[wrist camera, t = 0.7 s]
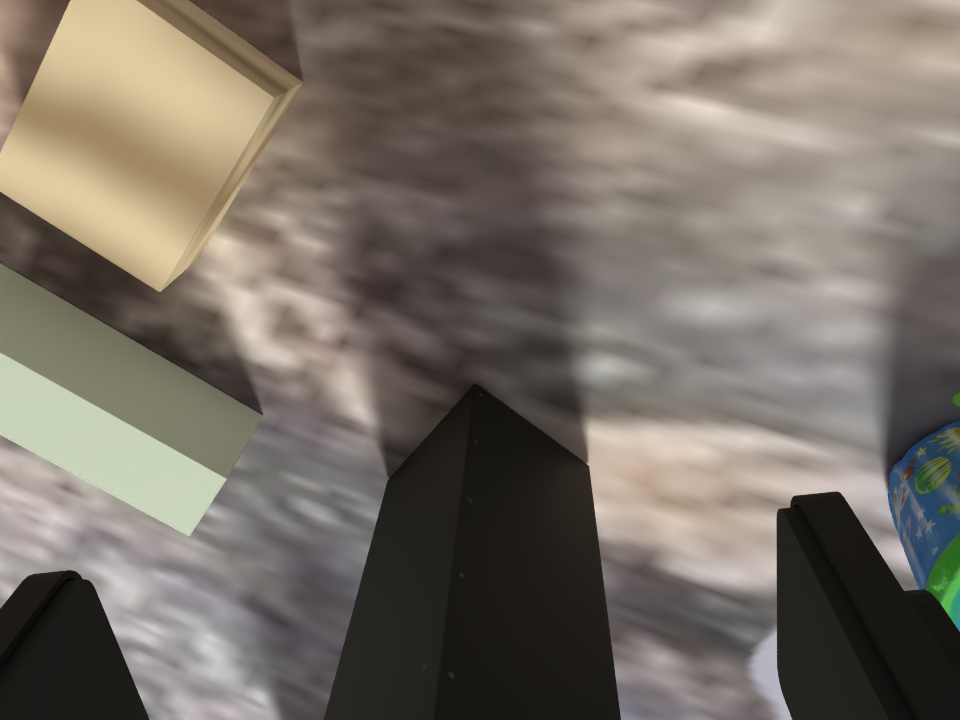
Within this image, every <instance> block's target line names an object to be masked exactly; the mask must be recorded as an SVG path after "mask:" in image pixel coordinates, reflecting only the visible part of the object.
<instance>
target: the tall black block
mask: <svg viewBox="0 0 960 720" xmlns="http://www.w3.org/2000/svg"><path fill="white" fill-rule="evenodd" d="M324 720H621V717H620V709H619V701H618V693H617V685H616V677H615V669H614V661H613V653H612V645H611V637H610V629H609V621H608V614H607V606H606V598H605V590H604V582H603V574H602V566H601V558H600V550H599V542H598V534H597V526H596V518H595V510H594V502H593V494H592V486H591V478H590V470H589V466H588V465H587V464H586V463H584V462H583V461H581V460H580V459H579V458H578V457H576V456H575V455H573V454H572V453H571V452H569V451H568V450H567V449H565V448H564V447H562V446H561V445H560V444H558V443H557V442H556V441H554V440H553V439H551V438H550V437H549V436H547V435H546V434H545V433H543V432H542V431H541V430H539V429H538V428H536V427H535V426H534V425H532V424H531V423H530V422H528V421H527V420H525V419H524V418H523V417H521V416H520V415H519V414H517V413H516V412H514V411H513V410H512V409H510V408H509V407H508V406H506V405H505V404H503V403H502V402H501V401H499V400H498V399H497V398H495V397H494V396H493V395H491V394H490V393H488V392H487V391H485V390H484V389H483V388H481V387H480V386H479V385H477V384H476V385H473V386H472V388H471V389H470V390H469V391H468V392H467V393H466V394H465V395H464V396H463V398H462V399H461V400H460V401H459V402H458V403H457V404H456V405H455V406H454V408H453V409H452V410H451V411H450V412H449V413H448V414H447V415H446V417H445V418H444V419H443V420H442V421H441V422H440V423H439V424H438V425H437V427H436V428H435V429H434V430H433V431H432V432H431V433H430V434H429V435H428V437H427V438H426V439H425V440H424V441H423V442H422V443H421V444H420V445H419V447H418V448H417V449H416V450H415V451H414V452H413V453H412V454H411V455H410V457H409V458H408V459H407V460H406V461H405V462H404V463H403V464H402V465H401V467H400V468H399V469H398V470H397V471H396V472H395V473H394V474H393V475H392V477H391V478H390V479H389V480H388V482H387V485H386V489H385V493H384V497H383V500H382V504H381V508H380V512H379V515H378V519H377V523H376V527H375V530H374V534H373V538H372V542H371V545H370V549H369V553H368V556H367V560H366V564H365V568H364V571H363V575H362V579H361V583H360V586H359V590H358V594H357V598H356V601H355V605H354V609H353V613H352V616H351V620H350V624H349V628H348V631H347V635H346V639H345V643H344V646H343V650H342V654H341V658H340V661H339V665H338V669H337V673H336V676H335V680H334V684H333V688H332V691H331V695H330V699H329V703H328V706H327V710H326V714H325V718H324Z"/></svg>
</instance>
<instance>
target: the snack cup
mask: <svg viewBox="0 0 960 720" xmlns="http://www.w3.org/2000/svg"><path fill="white" fill-rule="evenodd" d="M953 403H954V404H955V405H956V406H958V407H960V392H959V393H958V394H957V395H955V396H954V397H953ZM889 478H890V482H889V493H888V500H889V506H890V511H891V514H892V518H893V520H894V524H895V528H896V530H897V531H898V533H899V536H900V541H901V544H902V546H903V548H904V551H905V554H906V557H907V559H908V562H909V564H910V567H911V570H912V572H913V575H914V578H915V580H916V583H917V586H918V588H919V590H921V589H925V590H927V591H929V592H931V593H932V594H933V595H934V596H935V597H936V599H937V600H938V601H939V602H940V604H941V605H942V606H943V608H944V609H945V611H946V612H947V614H948V615H949V617H950V618H951V620H952V621H953V623H954V624H955V625H956V627H957V628H958V630H959V631H960V422H957V421H956V422H953V423H951V424H948V425H945V426H944V427H943V428H942V429H940V430H939V431H937V432H935V433H932V434H931V435H929V436H926V437H924V438H923V439H922V440H921V441H919V442H918V443H916V444H915V445H914V446H913V447H911V448H910V449H909V450H908V451H907V453H906V454H905V456H904V457H903V458H902V460H901V461H899V462H898V463H896V464H894V466H893V469H892V471H891V473H890V474H889Z"/></svg>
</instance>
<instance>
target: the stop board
mask: <svg viewBox="0 0 960 720" xmlns="http://www.w3.org/2000/svg"><path fill="white" fill-rule="evenodd" d="M262 417H263V415H261V414H259V413H258V412H256V411H254V410H253V409H251V408H249V407H247V406H246V405H244V404H242V403H240V402H239V401H237V400H235V399H234V398H232V397H230V396H228V395H227V394H225V393H223V392H221V391H220V390H218V389H216V388H215V387H213V386H211V385H209V384H208V383H206V382H204V381H203V380H201V379H199V378H197V377H196V376H194V375H192V374H190V373H189V372H187V371H185V370H184V369H182V368H180V367H178V366H177V365H175V364H173V363H172V362H170V361H168V360H166V359H165V358H163V357H161V356H159V355H158V354H156V353H154V352H153V351H151V350H149V349H147V348H146V347H144V346H142V345H141V344H139V343H137V342H135V341H134V340H132V339H130V338H128V337H127V336H125V335H123V334H122V333H120V332H118V331H116V330H115V329H113V328H111V327H109V326H108V325H106V324H104V323H103V322H101V321H99V320H97V319H96V318H94V317H92V316H91V315H89V314H87V313H85V312H84V311H82V310H80V309H78V308H77V307H75V306H73V305H72V304H70V303H68V302H66V301H65V300H63V299H61V298H60V297H58V296H56V295H54V294H53V293H51V292H49V291H47V290H46V289H44V288H42V287H41V286H39V285H37V284H35V283H34V282H32V281H30V280H29V279H27V278H25V277H23V276H22V275H20V274H18V273H16V272H15V271H13V270H11V269H10V268H8V267H6V266H4V265H3V264H1V263H0V435H1V436H3V437H5V438H7V439H9V440H11V441H13V442H14V443H16V444H18V445H20V446H22V447H24V448H26V449H28V450H29V451H31V452H33V453H35V454H37V455H39V456H41V457H42V458H44V459H46V460H48V461H50V462H52V463H54V464H55V465H57V466H59V467H61V468H63V469H65V470H67V471H68V472H70V473H72V474H74V475H76V476H78V477H80V478H82V479H83V480H85V481H87V482H89V483H91V484H93V485H95V486H96V487H98V488H100V489H102V490H104V491H106V492H108V493H109V494H111V495H113V496H115V497H117V498H119V499H121V500H122V501H124V502H126V503H128V504H130V505H132V506H134V507H136V508H137V509H139V510H141V511H143V512H145V513H147V514H149V515H150V516H152V517H154V518H156V519H158V520H160V521H162V522H163V523H165V524H167V525H169V526H171V527H173V528H175V529H176V530H178V531H180V532H182V533H184V534H186V535H188V536H190V535H191V533H192V531H193V530H194V528H195V527H196V525H197V524H198V522H199V521H200V519H201V518H202V516H203V515H204V513H205V511H206V510H207V508H208V507H209V505H210V504H211V502H212V501H213V499H214V498H215V496H216V495H217V493H218V491H219V490H220V488H221V487H222V485H223V484H224V482H225V481H226V479H227V477H228V476H229V474H230V472H231V471H232V469H233V467H234V465H235V464H236V462H237V460H238V458H239V457H240V455H241V453H242V452H243V450H244V448H245V446H246V445H247V443H248V441H249V439H250V438H251V436H252V434H253V433H254V431H255V429H256V427H257V426H258V424H259V422H260V420H261V419H262Z"/></svg>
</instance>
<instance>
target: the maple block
mask: <svg viewBox="0 0 960 720" xmlns="http://www.w3.org/2000/svg"><path fill="white" fill-rule="evenodd" d="M302 84H303V82H302V81H301V80H299V79H298V78H296V77H295V76H294V75H292V74H291V73H289V72H288V71H287V70H285V69H284V68H282V67H281V66H280V65H278V64H277V63H275V62H274V61H273V60H271V59H270V58H269V57H267V56H266V55H264V54H263V53H262V52H260V51H259V50H257V49H256V48H255V47H253V46H252V45H250V44H249V43H248V42H246V41H245V40H243V39H242V38H241V37H239V36H238V35H236V34H235V33H234V32H232V31H231V30H229V29H228V28H227V27H225V26H224V25H223V24H221V23H220V22H218V21H217V20H216V19H214V18H213V17H211V16H210V15H209V14H207V13H206V12H204V11H203V10H202V9H200V8H199V7H197V6H196V5H195V4H193V3H192V2H190V1H189V0H70V2H69V4H68V7H67V9H66V11H65V13H64V15H63V18H62V20H61V22H60V24H59V26H58V28H57V31H56V33H55V35H54V37H53V39H52V42H51V44H50V46H49V48H48V50H47V52H46V55H45V57H44V59H43V61H42V63H41V66H40V68H39V70H38V72H37V74H36V76H35V79H34V81H33V83H32V85H31V87H30V90H29V92H28V94H27V96H26V98H25V100H24V103H23V105H22V107H21V109H20V111H19V114H18V116H17V118H16V120H15V122H14V124H13V127H12V129H11V131H10V133H9V135H8V138H7V140H6V142H5V144H4V146H3V148H2V151H1V153H0V192H2V193H3V194H5V195H6V196H8V197H9V198H11V199H13V200H14V201H16V202H17V203H19V204H21V205H22V206H24V207H25V208H27V209H28V210H30V211H32V212H33V213H35V214H36V215H38V216H40V217H41V218H43V219H44V220H46V221H48V222H49V223H51V224H52V225H54V226H55V227H57V228H59V229H60V230H62V231H63V232H65V233H67V234H68V235H70V236H71V237H73V238H74V239H76V240H78V241H79V242H81V243H82V244H84V245H86V246H87V247H89V248H90V249H92V250H94V251H95V252H97V253H98V254H100V255H101V256H103V257H105V258H106V259H108V260H109V261H111V262H113V263H114V264H116V265H117V266H119V267H120V268H122V269H124V270H125V271H127V272H128V273H130V274H132V275H133V276H135V277H136V278H138V279H140V280H141V281H143V282H144V283H146V284H147V285H149V286H151V287H152V288H154V289H155V290H157V291H159V292H161V291H162V290H163V289H164V288H166V287H167V286H168V285H169V284H170V283H171V282H172V281H173V280H174V279H176V278H177V277H178V276H179V275H180V274H181V273H182V272H183V271H185V270H186V269H187V268H188V267H189V266H190V265H191V264H192V263H193V262H195V261H196V260H197V259H198V258H199V257H200V255H201V253H202V251H203V250H204V248H205V246H206V245H207V243H208V241H209V240H210V238H211V236H212V235H213V233H214V231H215V230H216V228H217V226H218V225H219V223H220V221H221V220H222V218H223V216H224V215H225V213H226V211H227V210H228V208H229V206H230V205H231V203H232V201H233V200H234V198H235V196H236V195H237V193H238V191H239V190H240V188H241V186H242V185H243V183H244V181H245V179H246V178H247V176H248V174H249V173H250V171H251V169H252V168H253V166H254V164H255V163H256V161H257V159H258V158H259V156H260V154H261V153H262V151H263V149H264V148H265V146H266V144H267V143H268V141H269V139H270V138H271V136H272V134H273V133H274V131H275V129H276V128H277V126H278V124H279V123H280V121H281V119H282V118H283V116H284V114H285V113H286V111H287V109H288V108H289V106H290V104H291V102H292V101H293V99H294V97H295V96H296V94H297V92H298V91H299V89H300V87H301V86H302Z"/></svg>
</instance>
